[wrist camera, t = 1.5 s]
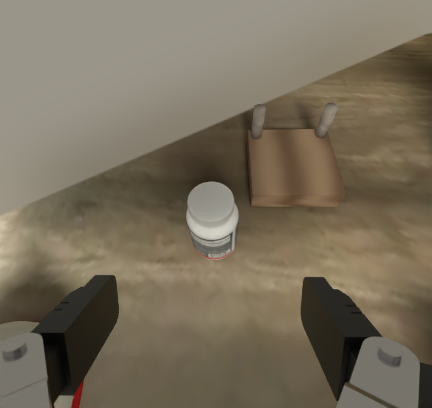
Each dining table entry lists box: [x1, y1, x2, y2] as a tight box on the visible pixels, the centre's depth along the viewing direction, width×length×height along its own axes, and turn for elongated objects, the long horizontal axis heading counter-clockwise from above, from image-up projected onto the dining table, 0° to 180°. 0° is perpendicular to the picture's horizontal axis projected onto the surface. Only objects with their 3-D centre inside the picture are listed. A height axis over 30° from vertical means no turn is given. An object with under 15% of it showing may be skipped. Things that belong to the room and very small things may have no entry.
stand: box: [247, 103, 346, 207], centre depth 36 cm, size 12×12×8 cm
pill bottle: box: [186, 182, 239, 260], centre depth 30 cm, size 6×6×10 cm
